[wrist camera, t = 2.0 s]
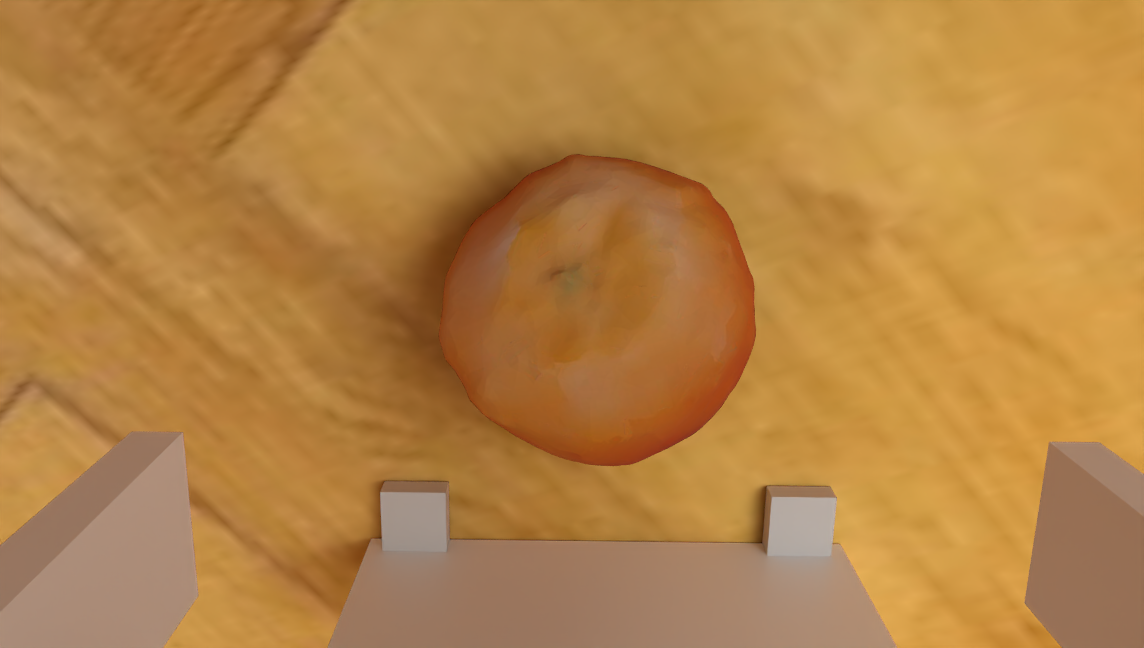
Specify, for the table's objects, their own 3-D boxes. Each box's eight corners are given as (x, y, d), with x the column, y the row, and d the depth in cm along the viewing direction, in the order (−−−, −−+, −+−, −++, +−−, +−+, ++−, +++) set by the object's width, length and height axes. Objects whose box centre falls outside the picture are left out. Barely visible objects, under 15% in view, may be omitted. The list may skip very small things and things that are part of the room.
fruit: (563, 520, 30) (479, 512, 22) (470, 293, 32) (365, 214, 24) (810, 408, 29) (811, 359, 21) (696, 182, 31) (660, 64, 23)
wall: (368, 480, 31) (322, 580, 25) (846, 486, 31) (909, 587, 25) (374, 621, 32) (332, 746, 26) (832, 626, 32) (890, 752, 26)
